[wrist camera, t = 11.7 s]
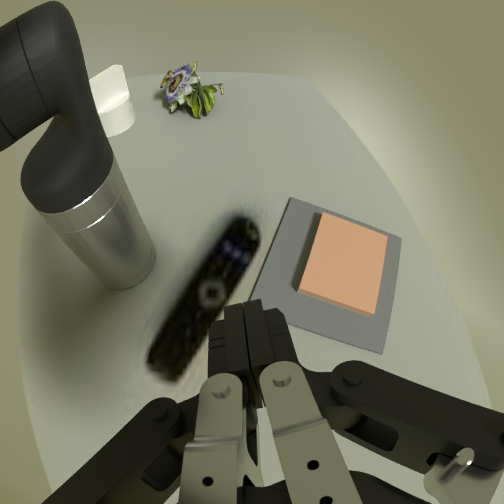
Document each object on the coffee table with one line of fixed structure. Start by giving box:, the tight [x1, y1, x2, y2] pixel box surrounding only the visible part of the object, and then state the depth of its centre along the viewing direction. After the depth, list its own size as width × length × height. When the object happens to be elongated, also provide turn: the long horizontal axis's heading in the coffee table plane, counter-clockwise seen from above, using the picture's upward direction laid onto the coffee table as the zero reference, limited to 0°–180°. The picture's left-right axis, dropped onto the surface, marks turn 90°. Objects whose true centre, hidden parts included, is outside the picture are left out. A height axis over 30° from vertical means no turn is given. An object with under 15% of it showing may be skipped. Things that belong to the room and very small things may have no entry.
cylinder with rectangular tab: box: [89, 65, 136, 137], centre depth 47 cm, size 9×9×12 cm
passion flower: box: [160, 62, 224, 119], centre depth 52 cm, size 11×11×12 cm
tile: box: [297, 212, 388, 318], centre depth 38 cm, size 10×2×12 cm
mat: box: [250, 197, 402, 354], centre depth 38 cm, size 18×18×1 cm
